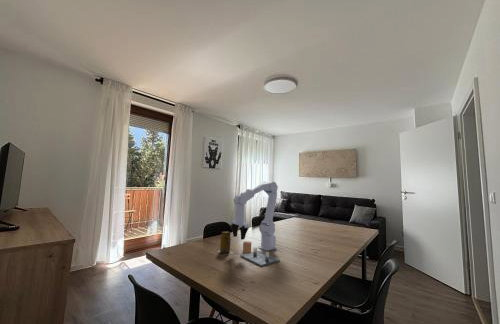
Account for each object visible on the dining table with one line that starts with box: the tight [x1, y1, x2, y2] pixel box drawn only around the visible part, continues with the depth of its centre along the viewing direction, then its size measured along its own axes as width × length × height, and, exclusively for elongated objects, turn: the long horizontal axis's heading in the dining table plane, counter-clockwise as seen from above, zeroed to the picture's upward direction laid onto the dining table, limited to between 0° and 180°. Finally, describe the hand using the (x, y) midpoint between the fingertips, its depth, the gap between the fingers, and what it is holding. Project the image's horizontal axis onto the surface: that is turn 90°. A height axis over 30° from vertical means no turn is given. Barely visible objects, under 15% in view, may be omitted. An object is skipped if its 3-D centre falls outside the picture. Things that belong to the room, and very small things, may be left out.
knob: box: [242, 240, 252, 254], centre depth 133 cm, size 5×5×6 cm
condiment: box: [216, 231, 234, 256], centre depth 130 cm, size 7×8×12 cm
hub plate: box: [239, 247, 281, 268], centre depth 121 cm, size 14×18×5 cm
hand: (238, 237), depth 128 cm, fingers open, 7 cm apart
